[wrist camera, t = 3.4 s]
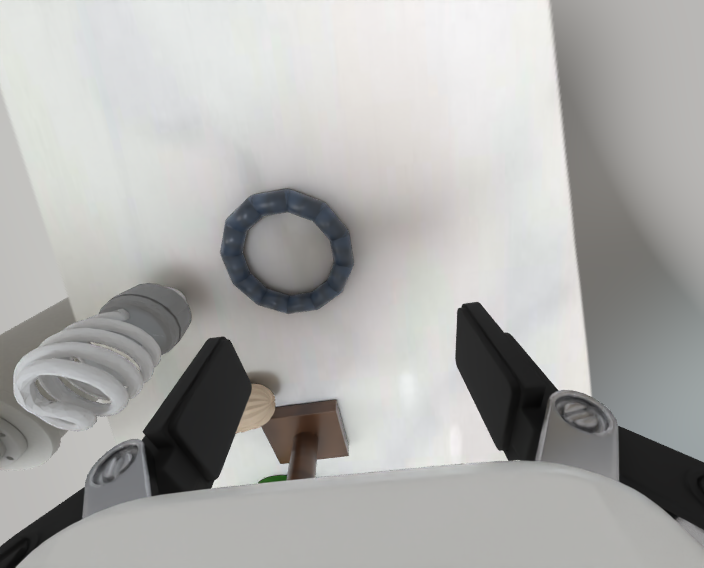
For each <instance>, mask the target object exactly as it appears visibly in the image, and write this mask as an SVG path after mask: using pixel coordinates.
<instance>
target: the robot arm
mask: <svg viewBox="0 0 704 568" xmlns="http://www.w3.org/2000/svg"><path fill="white" fill-rule="evenodd" d="M455 359H456V364H457V367H458V369H459V372H460V374H461V376H462V378H463V380H464V382H465V384H466V386H467V388H468V390H469V392H470V394H471V396H472V398H473V400H474V402H475V404H476V406H477V409H478V411H479V413H480V415H481V417H482V419H483V421H484V423H485V425H486V427H487V429H488V431H489V433H490V435H491V437H492V439H493V441H494V444H495V445H496V447H497V449H498V450H499V451H501V450H503V451H504V453H505V455H506V457H507V459H508V461H494V462H481V463H468V464H455V465H442V466H432V467H421V468H410V469H400V470H389V471H379V472H368V473H358V474H348V475H338V476H328V477H318V478H308V479H298V480H288V481H278V482H269V483H259V484H250V485H240V486H231V487H221V488H212V489H211V487H212V485H213V482H214V480H216V479H217V478H218V477H219V475H220V473H221V470H222V468H223V465H224V462H225V460H226V457H227V455H228V452H229V449H230V447H231V444H232V442H233V439H234V436H235V434H236V431H237V428H238V426H239V423H240V421H241V418H242V415H243V413H244V410H245V408H246V405H247V402H248V400H249V397H250V395H251V391H252V385H251V382H250V380H249V378H248V376H247V374H246V372H245V370H244V368H243V366H242V363H241V361H240V359H239V357H238V355H237V353H236V351H235V349H234V347H233V345H232V343H231V341H230V340H228V339H226V338H225V337H216V338H210V339H208V340H207V341H206V342H205V344H204V345H203V347H202V348H201V350H200V351H199V352H198V354H197V355H196V357H195V358H194V359H193V361H192V362H191V364H190V365H189V367H188V368H187V369H186V371H185V372H184V374H183V375H182V376H181V378H180V379H179V381H178V382H177V384H176V385H175V386H174V388H173V389H172V391H171V392H170V393H169V395H168V396H167V398H166V399H165V401H164V402H163V403H162V405H161V406H160V408H159V409H158V410H157V412H156V413H155V415H154V416H153V418H152V419H151V420H150V422H149V423H148V425H147V426H146V427H145V429H144V430H143V433H144V434H145V437H144V438H143V439H142V441H141V440H139V439H131V440H128V441H124V442H122V443H120V444H118V445H117V446H115V447H113V448H112V449H111V450H109V451H108V452H107V453H105V454H104V455H103V456H102V457H101V458H100V459H99V460H98V461H97V462H96V463H95V465H94V466H93V467H92V469H91V470H90V472H89V474H88V475H87V479H86V482H85V487H84V488H82V489H81V490H80V491H78V492H77V493H75V494H74V495H72V496H71V497H69V498H68V499H67V500H65V501H64V502H62V503H61V504H59V505H58V506H57V507H55V508H54V509H52V510H51V511H49V512H48V513H46V514H45V515H43V516H42V517H41V518H39V519H38V520H36V521H35V522H33V523H32V524H30V525H29V526H28V527H26V528H25V529H23V530H22V531H20V532H19V533H17V534H16V535H15V536H13V537H12V538H11V539H9V540H8V541H7V542H6V543H4V544H3V545H2V546H1V547H0V568H704V462H701V461H699V460H697V459H694V458H692V457H690V456H688V455H685V454H683V453H680V452H678V451H676V450H673V449H671V448H669V447H667V446H664V445H661V444H659V443H657V442H655V441H652V440H650V439H648V438H645V437H643V436H641V435H639V434H636V433H634V432H632V431H629V430H627V429H625V428H622V427H620V426H618V424H617V420H616V418H615V417H614V415H613V414H612V412H611V411H610V410H609V409H608V408H607V407H606V406H604V404H602V403H600V402H599V401H598V400H596V399H595V398H593V397H590V396H588V395H586V394H584V393H580V392H576V391H571V390H561V391H558V390H557V388H556V387H555V386H554V385H553V384H552V382H551V381H550V380H549V379H548V378H547V377H546V375H545V374H544V373H543V372H542V371H541V369H540V368H539V367H538V366H537V365H536V364H535V362H534V361H533V360H532V359H531V358H530V356H529V355H528V354H527V353H526V352H525V351H524V349H523V348H522V347H521V346H520V345H519V343H518V342H517V341H516V340H515V339H514V338H513V336H512V335H510V334H509V333H504V332H503V331H502V330H501V328H500V327H499V326H498V325H497V323H496V322H495V321H494V320H493V319H492V317H491V316H490V315H489V314H488V312H487V311H486V310H485V309H484V308H483V306H482V305H481V304H480V303H479V302H474V303H466V304H463V305H462V308H458V311H457V333H456V357H455ZM26 449H27V441H26V439H25V437H24V435H23V434H22V433H21V432H20V431H19V430H18V429H17V428H16V427H15V426H14V425H12V424H11V423H9V422H8V421H7V420H5V419H3V418H1V417H0V466H4V465H8V464H11V463H14V462H15V461H16V460H18V459H19V458H20V457H21V456H22V455H23V454H24V453H25V452H26ZM514 460H520V461H514Z"/></svg>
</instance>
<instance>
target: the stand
mask: <svg viewBox="0 0 704 568" xmlns="http://www.w3.org/2000/svg"><path fill="white" fill-rule="evenodd" d="M261 427H262V429H263V431H264V433H265V435H266V437H267V439H268V441H269V443H270V444H271V446H272V448H273V450H274V452H275V454H276V456H277V458H278V460H279V462H280V464H284V463H289V468H288V474H287V479H286V481H288V480H298V479H308V478H315V475H316V463H317V460H318V459H327V458H335V457H344V456H348V455H349V447H348V441H347V438H346V434H345V430H344V427H343V423H342V419H341V416H340V412H339V408H338V405H337V401H336V400H330V401H322V402H315V403H307V404H299V405H291V406H283V407H276V408H275V411H274V414H273V415H272V417H271V418H270V420H269V421H268V422H267V423H266V424H264V425H263V426H261Z"/></svg>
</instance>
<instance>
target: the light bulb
mask: <svg viewBox="0 0 704 568" xmlns="http://www.w3.org/2000/svg"><path fill="white" fill-rule="evenodd" d="M190 322H191V311H190V308H189V305H188V304H187V302H186V297H185V296H184V295H183V294H182V293H181V292H180V291H179V290H177V289H175V288H171V287H165V286H162V285H159V284H151V283H146V284H139V285H137V286H135V287H133V288H131V289H129V290H127V291H125V292H123V293H121V294H119V295H117V296H115V297H113V298H112V299H111V300H110V301H108V303H107V304H105V305H104V306H103V307H102V308H101V310H100V312H99V314H97V315H95V316H92V317H89V318H87V319H85V320H81V321H78V322H75V323H73V324H71V325H69V326H68V327H66V328H64V329H63V330H62V331H61V332H59V333H56V334H54V335H52V336H50V337H48V338H47V339H46V340H44V341H43V342H42V343H41V344H40V346H39V347H38V348H36V349H34V350H32V351H30V352H29V353H28V354H26V355H25V356H24V357H23V358H22V359H21V360H20V361H19V363H18V364H17V365H16V368H15V371H14V374H13V383H14V384H13V389H14V396H15V398H16V400H17V402H18V403H19V404H20V405H21V406H22V407H23V408H24V409H25V410H26V411H28V412H30V413H32V414H34V415H36V416H37V417H39V418H40V419H42V420H43V421H45V422H46V423H48V424H50V425H52V426H55V427H57V428H59V429H64V430H71V431H83V430H87V429H89V428H91V427H92V426H93V425H94V424H95V423H96V422H97V416H111V415H114V414H117V413H119V412H120V411H121V410H123V409H124V408H125V407H126V405H127V404H128V401H129V399H131V398H133V397H135V396H136V395H137V394H139V393H140V391H141V390H142V388H143V384H144V383H145V382H147V381H148V380H149V379H150V378H151V377H152V375H153V372H154V367H156V366H157V365H158V364H159V362H160V360H161V355H163V354H165V353H167V352H169V351H170V350H171V349H172V348H173V347H174V346H175V345H176V344H177V343H178V342H179V341H180V339H181V338H182V336H183V335H184V333H185V332H186V330H187V328H188V327H189V324H190ZM90 342H95V343H100V344H105V345H108V346H110V347H112V348H115V349H117V350H120V351H122V352H124V353H126V354H127V355H128V356H130V357H131V358H132V359H133V360H134V361H135V362H136V363H137V364H138V365H139V367H140V371H139V370H138V369H137V367H136V366H135V365H134V364H133V363H132V362H130V361H129V360H128V359H126V358H125V357H123V356H122V355H120V354H118V353H116V352H114V351H111V350H109V349H107V348H103V347H99V346H96V345H92V344H90ZM73 357H75V358H78V359H79V361H80V362H76V361H74V359H73ZM58 376H62V377H64V378H65V379H66V380H68V381H69V382H70V383H71V384H72V385H74V386H75V387H76V388H78V389H79V390H81V391H83V392H85V393H87V394H89V395H91V396H93V397H96V398H99V399H102V400H108V401H111V403H108V404H103V403H98V402H94V401H90V400H88V399H86V398H83V397H81V396H79V395H77V394H76V393H74V392H73V391H72V390H71V389H69V388H68V387H67V386H65V385H64V384H63V383H62V381H61V380H60V379H59V378H58ZM36 379H38V381H39V383H40V385H41V386H42V387H43V388H44V390H45V391H46V392H47V393H48V394H49V395H50V396H52V397H53V398H54V399H56V400H57V401H52V400H47V399H46V398H44V397H43V396H42V395H41V393H40V392H39V390H38V388H37V386H36V384H35V382H36ZM124 386H127V388H125V387H124Z"/></svg>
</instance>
